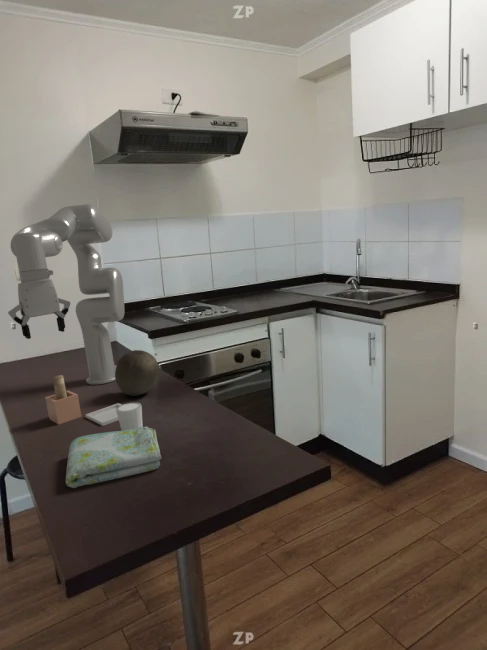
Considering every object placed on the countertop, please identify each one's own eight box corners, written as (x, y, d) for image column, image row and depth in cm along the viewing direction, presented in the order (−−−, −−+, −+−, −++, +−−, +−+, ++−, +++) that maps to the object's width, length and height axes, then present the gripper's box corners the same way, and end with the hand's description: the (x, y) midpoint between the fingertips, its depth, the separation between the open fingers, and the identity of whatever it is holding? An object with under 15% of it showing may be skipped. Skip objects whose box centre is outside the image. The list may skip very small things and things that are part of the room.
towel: (165, 469, 108) (162, 448, 107) (66, 492, 103) (62, 470, 102) (156, 438, 126) (153, 420, 125) (71, 456, 120) (68, 437, 119)
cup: (72, 413, 150) (68, 390, 149) (82, 418, 145) (77, 394, 144) (49, 421, 146) (45, 397, 144) (58, 426, 140) (54, 401, 139)
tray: (119, 407, 151) (118, 403, 151) (137, 415, 143) (136, 410, 143) (86, 419, 144) (85, 414, 144) (103, 427, 136) (102, 422, 136)
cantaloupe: (130, 404, 153) (123, 359, 150) (112, 395, 164) (105, 353, 161) (169, 392, 161) (163, 349, 158) (148, 384, 172) (142, 344, 169)
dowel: (68, 415, 147) (60, 374, 145) (72, 417, 145) (64, 376, 143) (58, 418, 145) (50, 377, 143) (62, 420, 143) (54, 379, 141)
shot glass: (149, 426, 134) (146, 402, 132) (136, 436, 127) (132, 412, 126) (128, 425, 136) (124, 401, 135) (114, 435, 130) (110, 411, 128)
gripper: (60, 272, 146) (69, 327, 149) (-2, 280, 135) (10, 339, 138) (69, 272, 140) (78, 329, 143) (5, 281, 129) (18, 342, 132)
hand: (45, 334), depth 141 cm, fingers open, 9 cm apart
